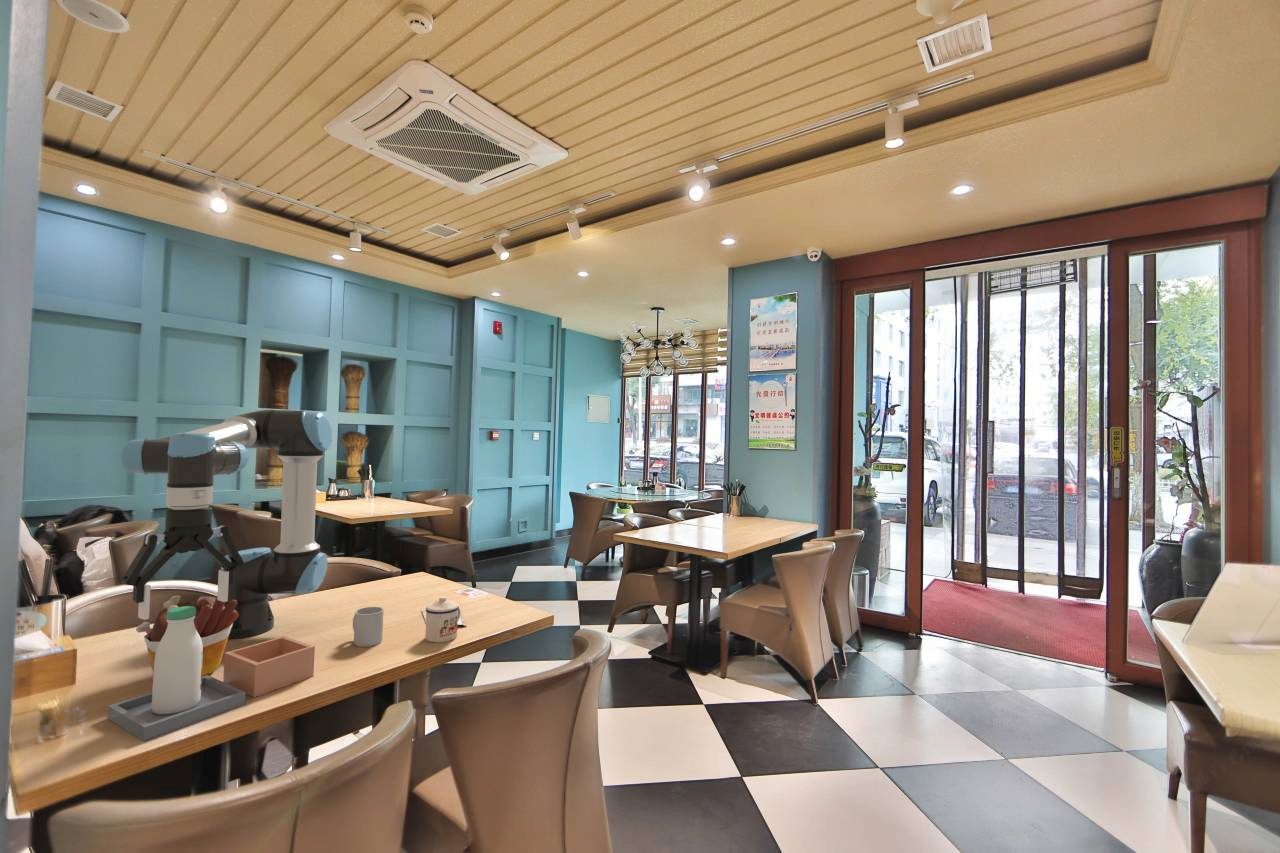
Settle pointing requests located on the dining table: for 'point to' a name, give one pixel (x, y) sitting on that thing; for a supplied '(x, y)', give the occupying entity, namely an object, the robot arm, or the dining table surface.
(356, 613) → the cup
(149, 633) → the bucket of meat
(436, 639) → the teacup with lid
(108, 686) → the dining table surface
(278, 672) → the deep holder
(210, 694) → the tray
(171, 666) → the milk bottle
